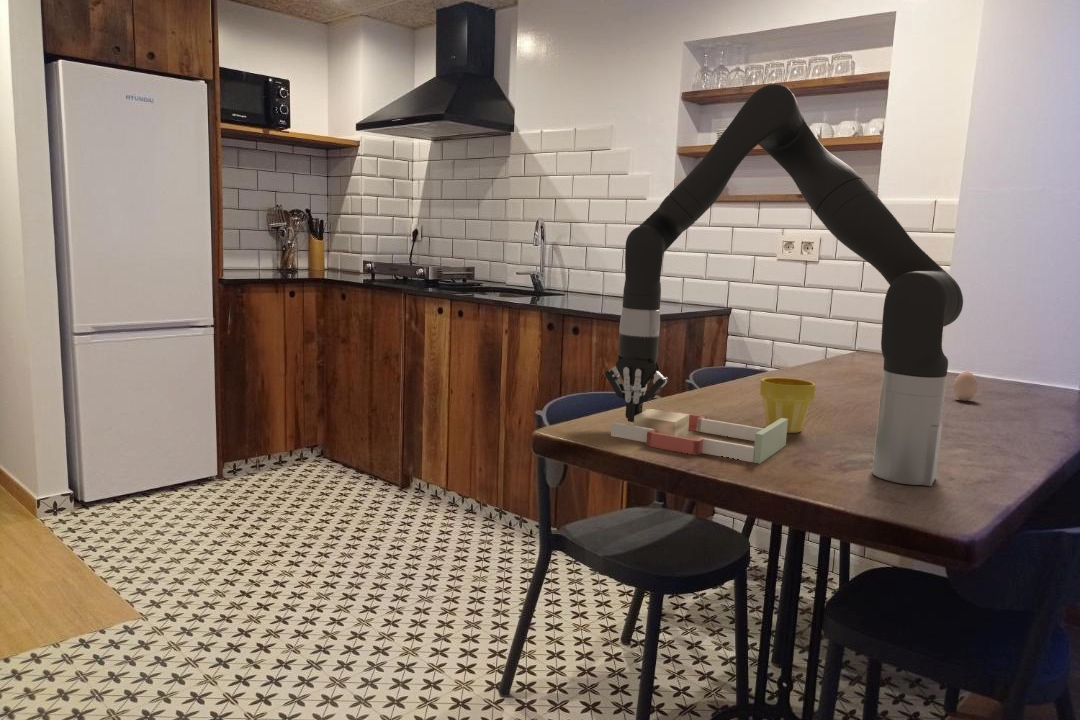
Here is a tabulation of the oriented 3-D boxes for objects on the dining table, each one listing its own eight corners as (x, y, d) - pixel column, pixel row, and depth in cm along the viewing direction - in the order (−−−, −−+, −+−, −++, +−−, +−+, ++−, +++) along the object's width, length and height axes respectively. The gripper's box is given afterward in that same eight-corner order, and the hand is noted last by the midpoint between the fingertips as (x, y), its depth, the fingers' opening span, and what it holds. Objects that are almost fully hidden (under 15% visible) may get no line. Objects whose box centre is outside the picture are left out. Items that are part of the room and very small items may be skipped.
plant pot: (765, 420, 169) (769, 374, 168) (816, 428, 164) (820, 380, 163) (750, 429, 160) (754, 381, 159) (803, 438, 155) (808, 388, 154)
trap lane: (788, 443, 151) (791, 416, 150) (755, 466, 134) (758, 437, 133) (650, 419, 165) (652, 395, 165) (605, 438, 149) (606, 411, 148)
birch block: (688, 435, 155) (689, 414, 154) (673, 443, 148) (675, 422, 147) (648, 428, 158) (649, 408, 158) (633, 436, 151) (634, 416, 151)
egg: (962, 402, 199) (966, 373, 198) (947, 398, 204) (950, 369, 203) (980, 402, 200) (984, 373, 199) (964, 398, 205) (968, 369, 204)
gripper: (679, 334, 153) (672, 423, 156) (616, 327, 160) (611, 412, 163) (663, 337, 147) (656, 430, 150) (599, 330, 154) (593, 419, 157)
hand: (633, 421), depth 156 cm, fingers closed
